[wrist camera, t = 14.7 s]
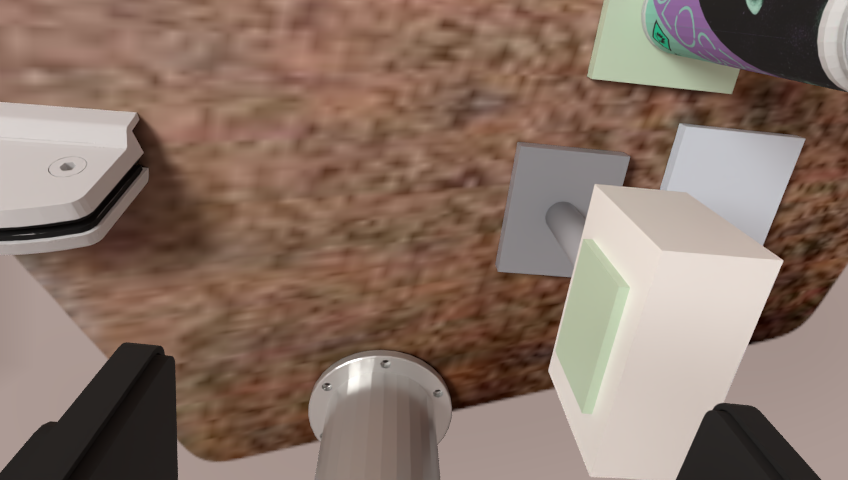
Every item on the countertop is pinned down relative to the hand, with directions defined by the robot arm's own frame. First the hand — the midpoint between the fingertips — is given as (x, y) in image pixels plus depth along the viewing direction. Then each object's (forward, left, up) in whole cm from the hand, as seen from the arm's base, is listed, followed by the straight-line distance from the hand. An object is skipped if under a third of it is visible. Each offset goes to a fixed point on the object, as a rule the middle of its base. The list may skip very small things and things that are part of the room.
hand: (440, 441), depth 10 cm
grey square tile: (-4, -24, -31) cm, 40 cm away
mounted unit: (-7, -12, -31) cm, 34 cm away
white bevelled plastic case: (-6, +27, -32) cm, 42 cm away
